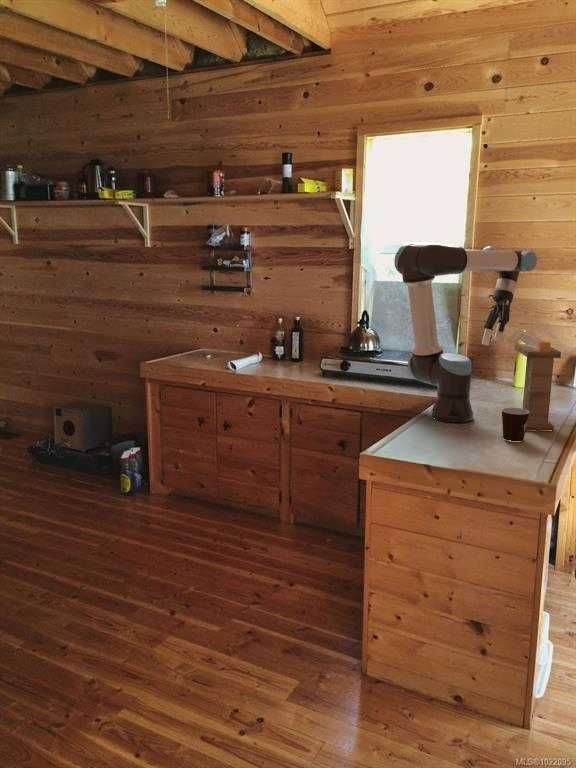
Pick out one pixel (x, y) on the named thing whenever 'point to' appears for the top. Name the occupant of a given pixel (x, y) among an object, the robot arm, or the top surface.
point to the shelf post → (538, 385)
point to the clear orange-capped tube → (534, 342)
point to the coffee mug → (514, 423)
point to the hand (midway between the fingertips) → (491, 342)
